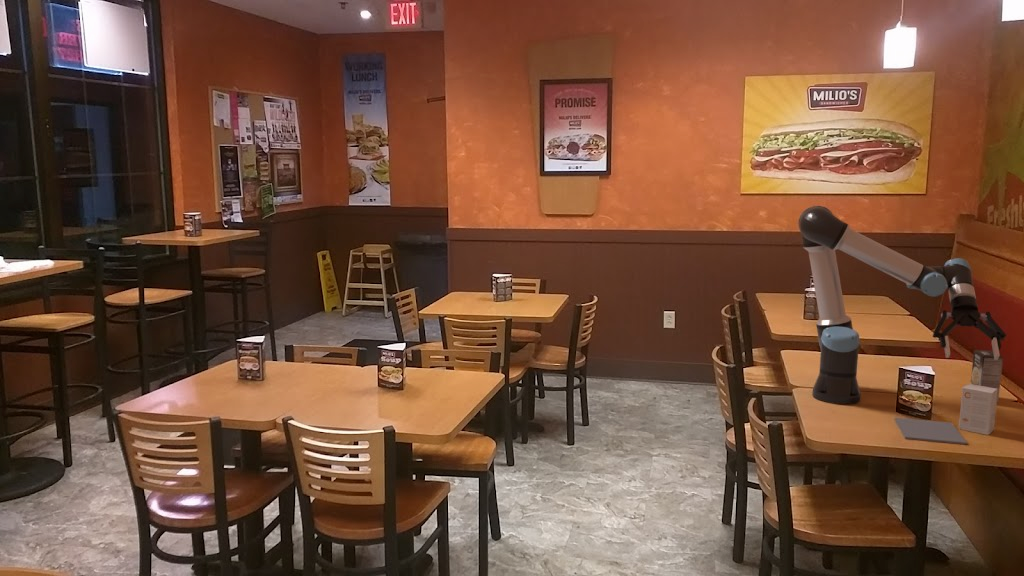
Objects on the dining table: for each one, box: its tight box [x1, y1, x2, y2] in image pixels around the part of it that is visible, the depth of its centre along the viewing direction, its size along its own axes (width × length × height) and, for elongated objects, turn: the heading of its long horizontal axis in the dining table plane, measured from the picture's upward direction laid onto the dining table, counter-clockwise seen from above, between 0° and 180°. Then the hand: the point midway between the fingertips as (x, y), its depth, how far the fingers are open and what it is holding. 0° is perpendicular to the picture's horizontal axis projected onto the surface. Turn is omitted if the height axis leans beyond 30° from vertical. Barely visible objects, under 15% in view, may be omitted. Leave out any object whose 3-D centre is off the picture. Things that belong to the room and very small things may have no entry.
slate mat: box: [893, 417, 968, 445], centre depth 235 cm, size 16×18×1 cm
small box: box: [958, 383, 998, 436], centre depth 236 cm, size 8×6×13 cm
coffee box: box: [970, 349, 1004, 404], centre depth 266 cm, size 9×6×16 cm
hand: (972, 356), depth 245 cm, fingers open, 13 cm apart
